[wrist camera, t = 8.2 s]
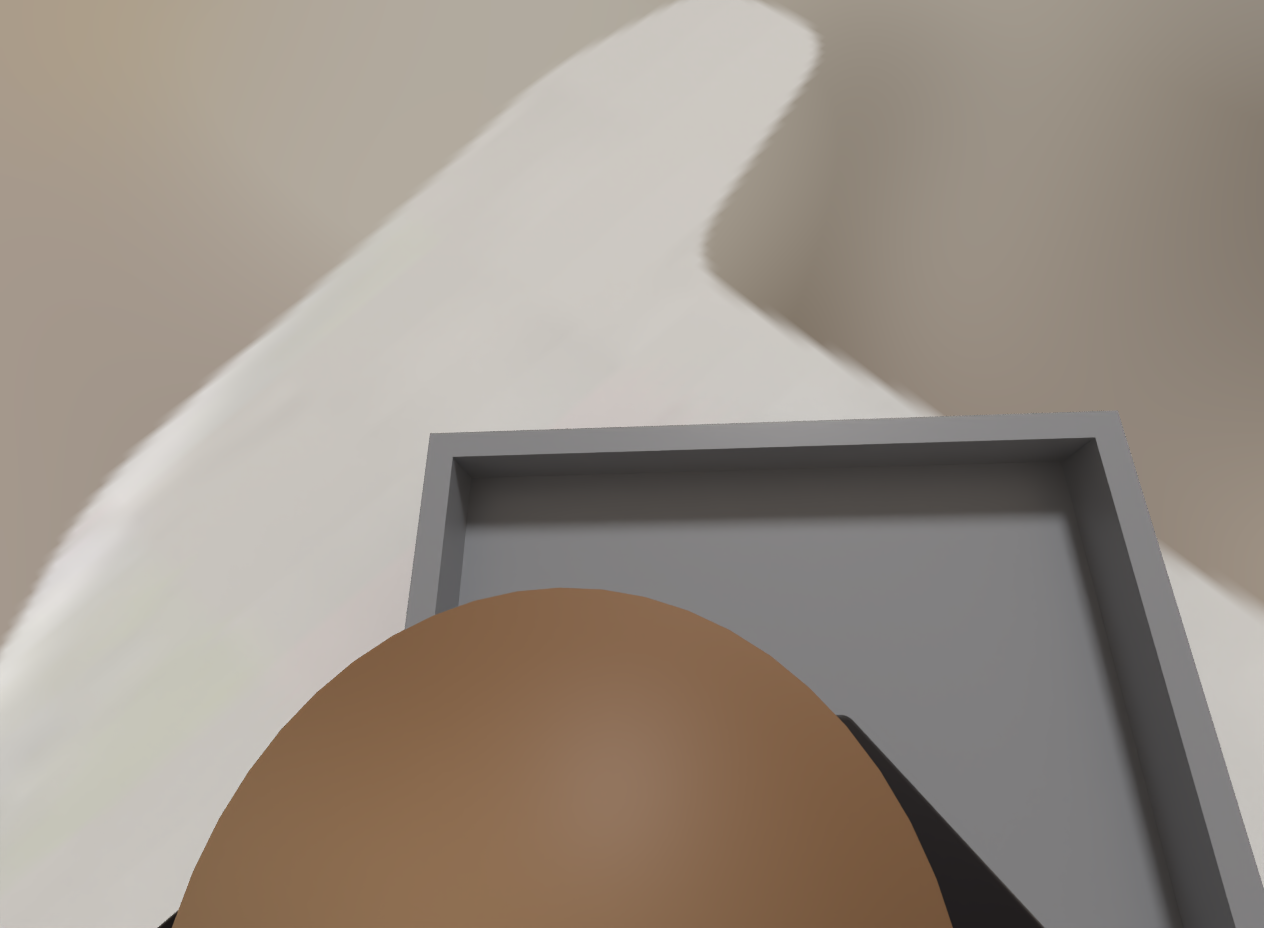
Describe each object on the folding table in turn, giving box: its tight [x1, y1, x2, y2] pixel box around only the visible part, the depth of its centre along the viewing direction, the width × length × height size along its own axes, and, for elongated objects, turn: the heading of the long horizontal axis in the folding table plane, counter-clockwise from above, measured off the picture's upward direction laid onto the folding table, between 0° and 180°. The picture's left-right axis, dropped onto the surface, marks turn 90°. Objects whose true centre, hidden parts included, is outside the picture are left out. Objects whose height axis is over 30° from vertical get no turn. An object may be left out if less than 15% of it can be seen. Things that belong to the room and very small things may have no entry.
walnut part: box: [172, 588, 953, 928], centre depth 9 cm, size 4×4×11 cm
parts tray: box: [405, 411, 1264, 928], centre depth 18 cm, size 20×20×4 cm
